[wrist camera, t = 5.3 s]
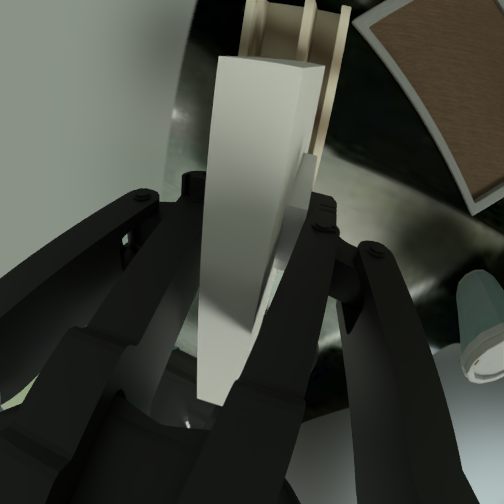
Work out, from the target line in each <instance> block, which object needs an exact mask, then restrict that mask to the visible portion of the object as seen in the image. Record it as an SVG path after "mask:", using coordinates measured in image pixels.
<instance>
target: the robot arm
mask: <svg viewBox="0 0 504 504" xmlns="http://www.w3.org/2000/svg"><path fill="white" fill-rule="evenodd" d="M317 157H318V156H316V155H312V154H308V153H303V156H302V160H301V163H300V166H299V169H298V172H297V175H296V178H295V181H294V184H293V187H292V190H291V193H290V196H289V199H288V202H287V205H286V210H285V215H284V219H283V224H282V229H281V233H280V238H279V242H278V247H277V252H276V256H275V261H274V265H273V268H276V269H280V270H284V273H283V276H282V278H281V281H280V283H279V286H278V288H277V291H276V293H275V295H274V298H273V300H272V303H271V305H270V307H269V310H268V312H267V315H264V317H263V320H262V323H261V327H260V330H259V333H258V336H257V338H256V340H255V343H254V345H253V347H252V350H251V352H250V354H249V357H248V359H247V361H246V364H245V366H244V368H243V370H242V373H241V375H240V377H239V378H238V380H235V382H234V383H233V385H232V387H231V389H230V391H229V393H228V395H227V397H226V400H225V402H224V404H223V406H220V405H217V404H213V403H210V402H207V401H204V400H200V399H197V358H196V357H194V356H192V355H190V354H188V353H186V352H184V351H182V350H180V348H179V347H177V346H174V345H175V342H176V340H177V337H178V335H179V332H180V330H181V328H182V325H183V323H184V320H185V318H186V316H187V313H188V311H189V308H190V306H191V304H192V301H193V299H194V297H195V294H196V292H197V289H198V287H199V285H200V263H201V244H202V228H203V212H204V198H205V185H206V173H207V172H205V171H190V172H187V173H184V174H183V175H182V189H181V196H180V198H179V199H178V200H177V201H176V202H159V194H158V192H156V191H154V190H150V189H147V188H146V189H143V188H141V189H137V190H133V191H131V192H129V193H127V194H125V195H124V196H122V197H120V198H118V199H117V200H115V201H113V202H112V203H110V204H108V205H107V206H105V207H103V208H102V209H100V210H99V211H97V212H95V213H94V214H92V215H91V216H89V217H88V218H86V219H84V220H83V221H81V222H80V223H78V224H76V225H75V226H73V227H72V228H70V229H69V230H67V231H66V232H64V233H63V234H61V235H60V236H58V237H57V238H55V239H54V240H53V241H51V242H50V243H48V244H47V245H45V246H44V247H43V248H41V249H40V250H38V251H37V252H36V253H34V254H32V255H31V256H30V257H28V258H27V259H26V260H24V261H23V262H22V263H20V264H19V265H17V266H16V267H15V268H14V269H12V270H11V271H10V272H8V273H7V274H6V275H4V276H3V277H2V278H0V405H2V404H3V403H5V402H7V401H8V400H10V399H11V398H13V397H14V396H15V395H17V394H18V393H19V392H20V391H22V390H23V389H24V388H25V387H26V386H27V385H28V384H29V383H30V382H31V381H32V380H33V379H34V378H35V377H36V376H37V375H38V374H39V375H38V377H37V378H36V380H35V382H34V383H33V385H32V387H31V389H30V390H29V392H28V394H27V395H26V397H25V399H24V401H23V402H22V403H21V404H19V405H16V406H14V407H11V408H9V409H6V410H3V409H2V408H1V406H0V504H301V503H300V502H299V500H298V498H297V496H296V494H295V492H294V491H293V489H292V487H291V485H290V484H289V483H288V481H287V480H286V479H285V475H286V472H287V469H288V466H289V463H290V459H291V456H292V453H293V450H294V446H295V443H296V439H297V436H298V433H299V429H300V425H301V422H302V418H303V415H304V410H305V404H306V402H305V401H304V396H305V392H306V388H307V384H308V380H309V376H310V373H311V371H312V370H313V368H314V366H315V364H316V362H317V358H318V350H319V345H318V340H319V335H320V331H321V327H322V322H323V317H324V313H325V308H326V303H327V299H328V295H329V296H331V297H333V298H335V299H337V301H336V309H337V315H338V321H339V328H340V335H341V342H342V349H343V356H344V364H345V372H346V380H347V388H348V397H349V407H350V416H351V427H352V438H353V451H354V465H355V481H356V495H357V504H480V503H479V501H478V500H477V497H476V495H475V494H474V492H473V490H472V488H471V486H470V484H469V482H468V480H467V478H466V476H465V474H464V472H463V470H462V466H461V461H460V456H459V451H458V446H457V442H456V438H455V433H454V429H453V425H452V421H451V417H450V413H449V409H448V406H447V402H446V398H445V395H444V391H443V388H442V385H441V381H440V378H439V375H438V372H437V368H436V365H435V362H434V359H433V356H432V353H431V350H430V347H429V344H428V341H427V338H426V336H425V333H424V330H423V327H422V325H421V322H420V319H419V316H418V314H417V311H416V309H415V306H414V303H413V301H412V298H411V296H410V293H409V291H408V289H407V286H406V284H405V281H404V279H403V277H402V274H401V272H400V269H399V267H398V265H397V263H396V260H395V258H394V256H393V254H392V253H391V251H390V250H389V249H388V248H387V247H385V246H384V245H383V244H381V243H378V242H374V241H362V242H360V244H359V245H358V247H355V246H353V245H351V244H349V243H347V242H345V241H344V240H343V239H341V238H340V237H339V235H340V231H339V228H338V227H337V226H336V212H337V209H336V208H337V203H336V201H335V200H334V199H333V197H331V196H327V195H323V194H319V193H315V192H311V190H312V185H313V179H314V174H315V168H316V162H317ZM126 234H128V243H126V244H125V245H123V243H122V238H123V237H124V236H125V235H126Z"/></svg>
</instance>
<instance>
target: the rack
mask: <svg viewBox="0 0 504 504" xmlns="http://www.w3.org/2000/svg"><path fill="white" fill-rule="evenodd" d="M350 12H351V7H349V6H344V5H342V10H341V14H336V13H332V12H327V11H322V10H318V8H317V5H316V1H315V0H305V6H304V7H299V6H292V5H285V4H277V3H269V2H268V1H267V0H246V7H245V13H244V20H243V26H242V33H241V40H240V47H239V54H238V56H240V57H248V55H249V56H265V57H272V58H279V59H285V60H295V61H303V62H309V63H314V64H319V65H324V66H325V70H324V75H323V81H322V86H321V91H320V96H319V101H318V106H317V111H316V116H315V120H314V125H313V130H312V135H311V140H310V144H309V149H308V154H312V155H316V156H318V157H317V162H316V168H315V174H314V179H313V185H312V190H311V192H313V188H314V184H315V180H316V176H317V172H318V167H319V163H320V159H321V155H322V150H323V146H324V141H325V137H326V133H327V128H328V124H329V119H330V114H331V110H332V105H333V100H334V96H335V91H336V86H337V81H338V76H339V71H340V66H341V61H342V56H343V51H344V45H345V40H346V35H347V29H348V24H349V18H350Z"/></svg>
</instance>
